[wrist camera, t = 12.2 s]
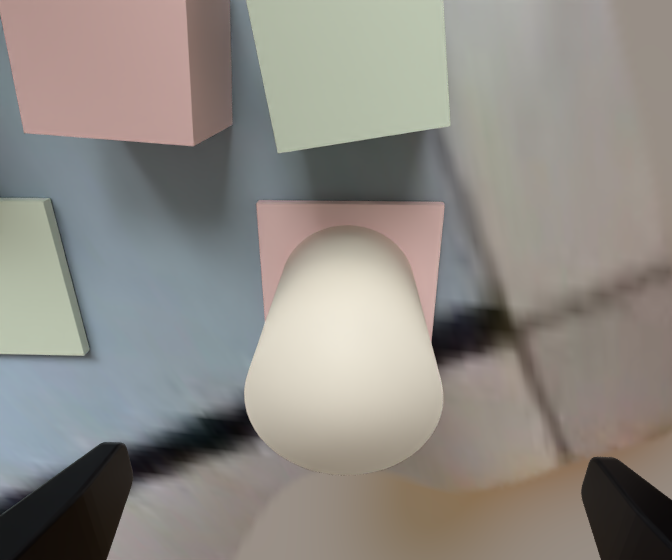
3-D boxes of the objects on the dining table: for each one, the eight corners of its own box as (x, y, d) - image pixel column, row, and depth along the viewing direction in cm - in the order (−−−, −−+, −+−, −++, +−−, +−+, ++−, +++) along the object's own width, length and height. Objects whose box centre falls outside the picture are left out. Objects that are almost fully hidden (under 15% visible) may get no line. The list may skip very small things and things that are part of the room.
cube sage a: (427, 108, 14) (450, 125, 11) (297, 129, 15) (277, 153, 11) (415, -48, 13) (437, -90, 9) (269, -20, 13) (236, -49, 10)
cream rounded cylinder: (410, 346, 17) (434, 478, 12) (284, 343, 18) (252, 472, 12) (419, 225, 15) (453, 318, 10) (277, 224, 16) (236, 314, 10)
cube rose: (233, 124, 15) (193, 146, 11) (104, 114, 15) (24, 132, 11) (230, -28, 13) (182, -60, 10) (85, -39, 13) (-18, -75, 10)
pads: (427, 356, 18) (429, 363, 18) (-61, 346, 19) (-69, 352, 18) (442, 201, 16) (444, 205, 15) (-124, 196, 16) (-135, 199, 16)
